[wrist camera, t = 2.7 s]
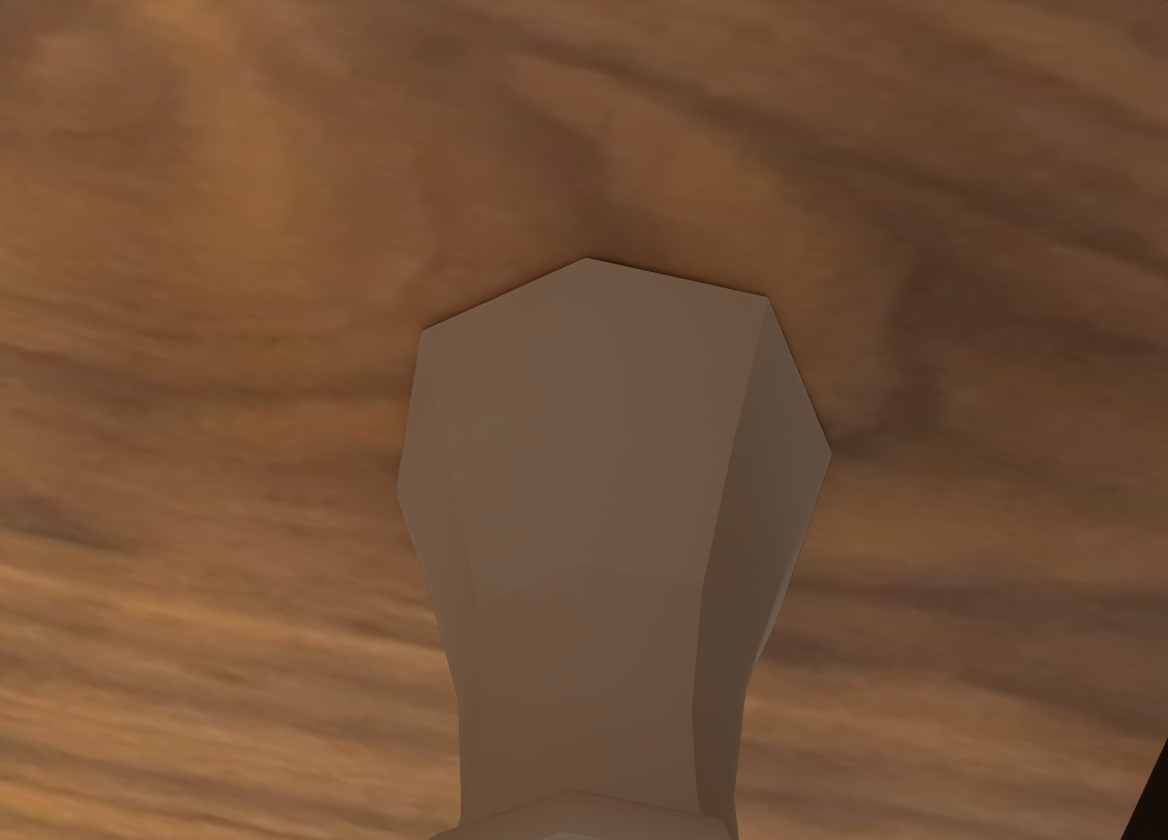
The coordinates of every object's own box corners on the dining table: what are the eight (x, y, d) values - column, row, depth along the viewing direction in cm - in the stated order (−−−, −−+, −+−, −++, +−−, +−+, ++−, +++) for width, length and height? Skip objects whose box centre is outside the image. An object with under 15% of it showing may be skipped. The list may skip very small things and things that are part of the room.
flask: (358, 276, 16) (1, 634, 7) (822, 229, 16) (1098, 551, 6) (434, 661, 19) (247, 1290, 10) (834, 633, 18) (1041, 1271, 9)
